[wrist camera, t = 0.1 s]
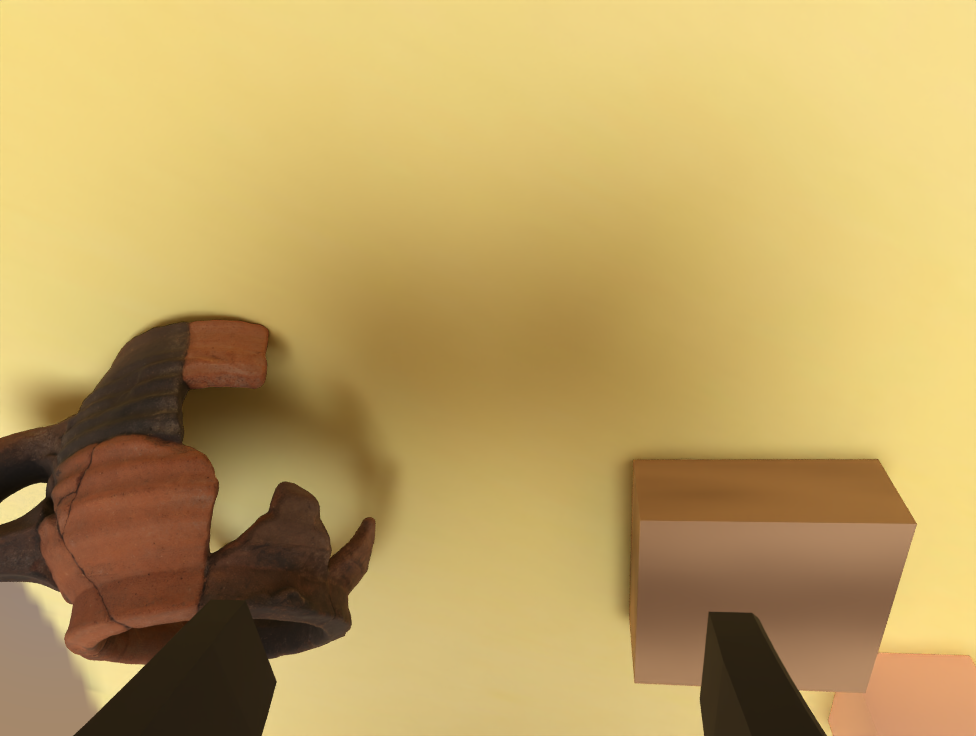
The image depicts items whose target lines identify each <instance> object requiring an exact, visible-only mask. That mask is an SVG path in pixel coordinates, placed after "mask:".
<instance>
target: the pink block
mask: <svg viewBox="0 0 976 736" xmlns="http://www.w3.org/2000/svg"><path fill="white" fill-rule="evenodd" d="M828 722H829V725H830V728H831V731H832V734H833V736H976V666H975V664H974V663H973V661H972V659H971V657H970V656H967V655H936V654H906V653H878V654H877V657H876V660H875V663H874V667H873V670H872V673H871V677H870V680H869V683H868V686H867V690H866V693H849V692H835V696H834V700H833V704H832V707H831V711H830V715H829V719H828Z"/></svg>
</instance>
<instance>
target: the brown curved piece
mask: <svg viewBox="0 0 976 736" xmlns="http://www.w3.org/2000/svg"><path fill="white" fill-rule="evenodd" d="M268 336H269V331H268V329H267V328H266V327H264V326H262V325H259V324H252V323H247V322H243V321H230V320H228V321H226V320H209V321H195V322H191V323H188V322H181V323H175V324H171V325H167V326H163V327H155V328H152V329H151V330H149V331H147V332H145V333H143V334H141V335H139V336H136V337H134V338H133V339H132V340H130V341H129V342H127V343H126V344H125V345H124V346H123V348H122V349H121V350H120V352H119V353H118V355H117V357H116V359H115V360H114V362H113V364H112V366H111V368H110V369H109V370H108V372H107V373H106V374H105V375H104V377H103V378H102V379H101V381H100V382H99V383H98V385H97V386H96V388H95V389H94V391H93V393H91V394H90V395H89V396H88V397H87V398H86V399H85V400H84V401H83V403H82V405H81V407H80V410H79V412H78V414H75V415H72V416H71V417H69V418H67V419H66V420H64V421H62V422H60V423H58V424H55V425H51V426H47V427H40V428H36V429H31V430H27V431H23V432H19V433H14V434H11V435H9V436H5V437H2V438H0V503H1V502H2V501H3V500H4V499H6V498H7V497H9V496H10V495H12V494H14V493H15V492H17V491H19V490H21V489H23V488H25V487H27V486H29V485H32V484H36V483H47V487H46V498H45V499H44V500H43V501H41V502H40V503H39V504H38V505H37V506H36V507H35V508H33V509H32V510H31V511H29V512H28V513H26V514H25V515H24V516H22V517H20V518H18V519H16V520H13V521H11V522H8V523H5V524H2V525H0V582H33V583H38V584H42V585H45V586H47V587H50V588H52V589H54V590H56V591H59V592H61V594H62V596H63V598H64V600H65V601H66V602H67V603H69V604H73V608H72V614H71V619H70V624H69V627H68V630H67V632H66V634H65V638H64V640H65V644H66V647H67V648H68V649H69V650H70V651H72V652H73V653H75V654H78V655H81V656H82V657H84V658H86V659H88V660H98V661H110V662H119V663H124V664H144V665H146V664H147V663H148V662H149V661H150V660H151V659H152V658H153V657H154V656H155V655H156V654H157V653H158V652H159V651H160V650H161V649H162V648H163V647H164V646H165V645H166V644H167V643H168V642H169V641H170V640H171V639H172V638H173V637H174V636H175V634H176V633H177V632H178V631H179V630H180V629H181V628H182V627H183V626H184V625H185V624H186V623H187V622H188V621H189V620H190V619H191V618H192V617H193V616H194V615H195V614H196V613H197V612H198V611H199V610H200V609H201V608H202V607H203V606H204V605H205V604H206V603H208V602H209V601H210V600H211V599H212V600H246V602H247V605H248V607H249V610H250V613H251V615H252V618H253V621H254V623H255V626H256V629H257V631H258V634H259V637H260V639H261V642H262V644H263V647H264V650H265V652H266V655H267V658H268V659H272V658H277V657H280V656H282V655H289V654H296V653H300V652H304V651H307V650H310V649H313V648H317V647H320V646H322V645H325V644H327V643H329V642H330V641H334V640H336V639H338V638H340V637H343V636H345V634H346V632H347V631H349V630H350V628H351V625H352V620H351V614H350V611H349V608H348V595H349V593H350V592H351V591H352V590H353V588H354V587H355V586H356V585H357V584H358V583H359V581H360V580H361V579H362V577H363V576H364V575H365V573H366V572H367V570H368V564H369V560H370V556H371V552H372V547H373V544H374V539H375V524H376V523H375V520H374V519H373V518H371V517H369V518H366V519H364V520H363V521H362V523H361V525H360V527H359V528H358V530H357V531H356V533H355V535H354V536H353V537H352V538H351V540H350V541H349V542H348V543H347V544H346V545H345V546H343V547H342V548H341V549H340V550H339V551H338V552H337V553H336V554H334V555H333V556H332V557H331V558H330V555H331V551H332V549H331V545H330V537H329V535H328V533H327V530H326V528H325V526H324V525H323V523H322V521H321V519H320V506H319V503H318V501H317V499H316V498H315V497H314V496H313V495H312V494H311V493H309V492H308V491H306V490H304V489H302V488H301V487H299V486H298V485H296V484H294V483H290V482H282V483H280V484H279V485H278V486H277V488H276V489H275V492H274V494H273V497H272V501H271V503H270V508H269V511H268V512H267V513H266V514H264V515H262V516H261V517H259V518H258V519H257V520H256V522H255V523H254V524H253V525H252V526H251V527H250V528H248V529H247V530H246V531H245V532H244V533H243V534H242V535H240V536H239V537H238V538H237V539H236V540H234V541H232V542H230V543H228V544H226V545H225V546H224V547H222V548H221V549H219V550H218V551H216V552H214V553H210V548H209V542H210V527H211V520H212V514H213V507H214V504H215V500H216V498H217V495H218V490H219V482H218V480H217V478H216V477H215V471H214V468H213V466H212V464H211V462H210V461H209V459H208V458H207V456H206V455H205V454H203V453H202V452H199V451H198V450H196V449H194V448H192V447H189V446H185V445H183V444H182V441H183V436H184V428H183V413H182V403H183V401H184V399H185V396H186V394H187V392H188V391H189V390H190V389H202V388H207V387H243V388H252V389H256V388H259V387H261V386H262V385H263V384H264V382H265V380H266V374H267V360H266V358H265V354H266V350H267V345H268Z"/></svg>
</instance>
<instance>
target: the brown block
mask: <svg viewBox="0 0 976 736" xmlns="http://www.w3.org/2000/svg"><path fill="white" fill-rule="evenodd" d="M916 525H917V523H916V522H915V520H914V518H913V517H912V515H911V513H910V512H909V510H908V508H907V507H906V505H905V503H904V502H903V500H902V498H901V497H900V495H899V493H898V492H897V490H896V488H895V487H894V485H893V483H892V482H891V480H890V478H889V477H888V475H887V473H886V472H885V470H884V468H883V467H882V465H881V463H880V461H879V460H878V459H720V460H633V492H632V529H631V567H630V604H629V620H630V633H631V645H632V657H633V670H634V682H635V683H643V684H666V685H689V686H701V682H702V672H703V663H704V653H705V643H706V633H707V623H708V613H709V612H745V613H753V614H754V615H755V616H757V617H758V618H759V620H760V622H761V624H762V626H763V628H764V630H765V632H766V633H767V635H768V637H769V639H770V641H771V643H772V645H773V647H774V649H775V650H776V652H777V654H778V656H779V658H780V659H781V661H782V663H783V665H784V666H785V668H786V670H787V672H788V673H789V675H790V677H791V679H792V680H793V682H794V684H795V685H796V687H797V689H798V690H803V691H826V692H849V693H866V690H867V686H868V683H869V680H870V677H871V673H872V670H873V667H874V663H875V660H876V657H877V654H878V650H879V647H880V644H881V640H882V637H883V634H884V631H885V627H886V624H887V621H888V617H889V614H890V611H891V607H892V604H893V601H894V598H895V594H896V591H897V588H898V584H899V581H900V578H901V575H902V571H903V568H904V565H905V561H906V558H907V555H908V552H909V548H910V545H911V542H912V538H913V535H914V532H915V529H916Z"/></svg>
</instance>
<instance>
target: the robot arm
mask: <svg viewBox="0 0 976 736" xmlns="http://www.w3.org/2000/svg"><path fill="white" fill-rule="evenodd" d="M276 682H277V681H276V679H275V676H274V674H273V671H272V668H271V666H270V663H269V660H268V658H267V655H266V652H265V650H264V647H263V644H262V642H261V639H260V637H259V634H258V631H257V629H256V626H255V623H254V621H253V618H252V615H251V613H250V610H249V607H248V605H247V602H246V600H212V599H211V600H210V601H209V602H208V603H206V604H205V605H204V606H203V607H202V608H201V609H200V610H199V611H198V612H197V613H196V614H195V615H194V616H193V617H192V618H191V619H190V620H189V621H188V622H187V623H186V624H185V625H184V626H183V627H182V628H181V629H180V630H179V631H178V632H177V633H176V634H175V636H174V637H173V638H172V639H171V640H170V641H169V642H168V643H167V644H166V645H165V646H164V647H163V648H162V649H161V650H160V651H159V652H158V653H157V654H156V655H155V656H154V657H153V658H152V659H151V660H150V661H149V662H148V663H147V664H146V665H145V666H144V667H143V668H142V669H141V670H140V671H139V672H138V673H137V674H136V675H135V676H134V677H133V678H132V679H131V680H130V681H129V682H128V683H127V684H126V685H125V686H124V687H123V688H122V689H121V690H120V691H119V692H118V693H117V694H116V695H115V696H114V697H113V698H112V699H111V700H110V701H109V702H108V703H107V704H106V705H105V706H104V707H103V708H102V709H101V710H100V711H99V712H98V713H97V714H96V715H95V716H94V717H92V718H91V719H90V721H88V723H86V724H85V725H84V726H83V727H82V728H81V729H80V730H79V731H78V732H77V733H76V734H75V735H74V736H262V732H263V729H264V726H265V722H266V719H267V716H268V712H269V708H270V704H271V701H272V697H273V693H274V690H275V686H276ZM700 705H701V713H702V721H703V730H704V736H827V735H826V734H825V732H824V731H823V729H822V728H821V726H820V724H819V723H818V721H817V720H816V718H815V716H814V715H813V713H812V712H811V710H810V708H809V707H808V705H807V704H806V702H805V700H804V699H803V697H802V695H801V694H800V692H799V690H798V689H797V687H796V685H795V684H794V682H793V680H792V679H791V677H790V675H789V673H788V672H787V670H786V668H785V666H784V665H783V663H782V661H781V659H780V658H779V656H778V654H777V652H776V650H775V649H774V647H773V645H772V643H771V641H770V639H769V637H768V635H767V633H766V632H765V630H764V628H763V626H762V624H761V622H760V620H759V618H758V617H757V616H755V615H754V614H753V613H745V612H709V613H708V623H707V633H706V643H705V653H704V663H703V672H702V682H701V692H700Z"/></svg>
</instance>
